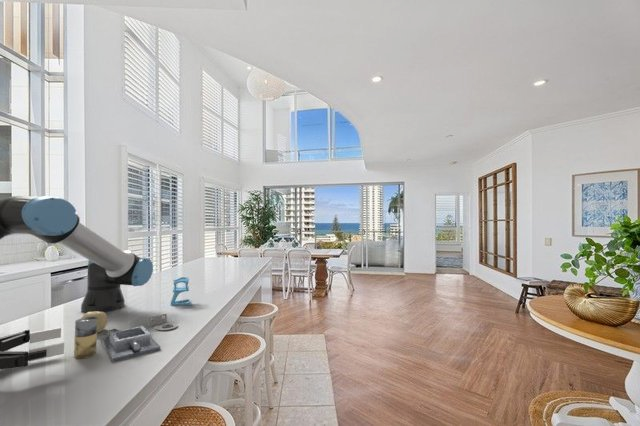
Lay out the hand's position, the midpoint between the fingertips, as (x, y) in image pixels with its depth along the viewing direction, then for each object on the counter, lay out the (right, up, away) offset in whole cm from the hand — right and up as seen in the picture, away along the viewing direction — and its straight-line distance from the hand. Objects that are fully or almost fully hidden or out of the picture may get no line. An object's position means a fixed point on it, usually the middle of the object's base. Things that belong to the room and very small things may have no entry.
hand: (62, 339), depth 83 cm
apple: (-7, -6, +20) cm, 22 cm away
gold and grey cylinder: (+3, -6, +4) cm, 8 cm away
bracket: (+14, -7, +28) cm, 32 cm away
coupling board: (+11, -6, +11) cm, 17 cm away
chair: (+7, -7, +55) cm, 56 cm away
